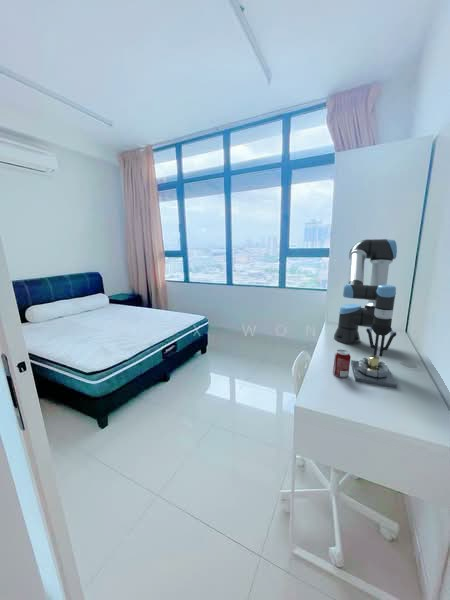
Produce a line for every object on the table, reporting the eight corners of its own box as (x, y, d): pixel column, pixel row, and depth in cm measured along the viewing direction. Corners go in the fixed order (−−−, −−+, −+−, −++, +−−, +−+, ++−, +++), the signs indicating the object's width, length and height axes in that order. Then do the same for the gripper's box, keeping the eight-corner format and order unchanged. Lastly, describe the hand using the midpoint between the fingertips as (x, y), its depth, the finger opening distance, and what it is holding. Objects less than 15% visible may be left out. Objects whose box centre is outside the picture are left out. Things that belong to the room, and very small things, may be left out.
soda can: (349, 379, 114) (352, 355, 112) (334, 377, 116) (337, 354, 113) (346, 372, 121) (348, 349, 118) (331, 370, 122) (333, 348, 119)
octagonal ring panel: (386, 379, 109) (388, 372, 109) (356, 372, 116) (357, 365, 115) (387, 362, 125) (388, 356, 124) (360, 356, 131) (361, 350, 130)
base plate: (350, 363, 129) (352, 347, 127) (386, 369, 124) (388, 352, 121) (355, 381, 113) (357, 363, 111) (396, 388, 107) (399, 370, 105)
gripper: (366, 316, 120) (361, 361, 125) (398, 321, 113) (392, 367, 118) (368, 313, 126) (363, 355, 131) (399, 317, 119) (392, 361, 124)
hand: (377, 361), depth 125 cm, fingers closed
